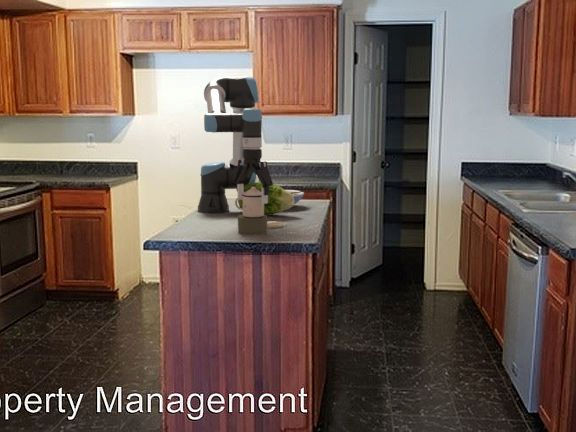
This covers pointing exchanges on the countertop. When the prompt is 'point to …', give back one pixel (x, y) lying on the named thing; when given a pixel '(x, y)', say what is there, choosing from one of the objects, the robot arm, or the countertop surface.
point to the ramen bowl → (296, 195)
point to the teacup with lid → (252, 203)
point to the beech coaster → (274, 224)
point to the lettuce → (273, 198)
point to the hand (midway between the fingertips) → (252, 201)
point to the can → (252, 225)
